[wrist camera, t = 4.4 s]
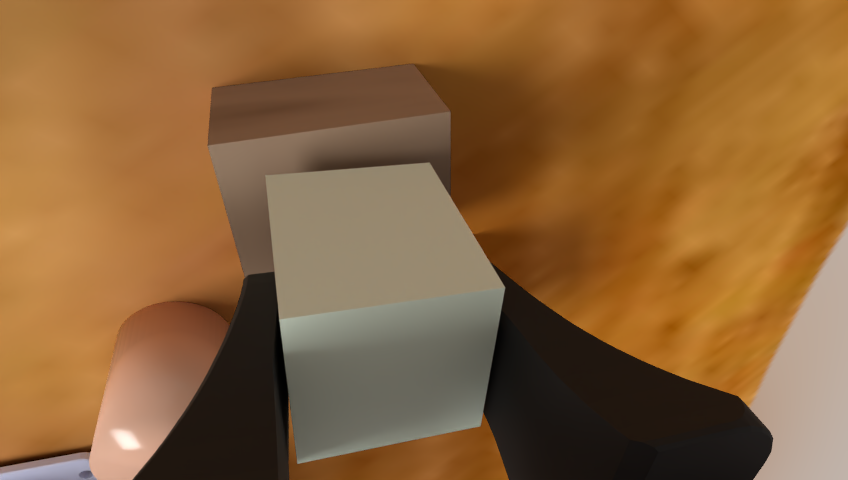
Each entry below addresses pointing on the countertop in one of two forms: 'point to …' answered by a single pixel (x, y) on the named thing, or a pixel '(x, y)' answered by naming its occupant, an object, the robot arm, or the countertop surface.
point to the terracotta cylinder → (152, 383)
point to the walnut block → (318, 138)
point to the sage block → (379, 307)
